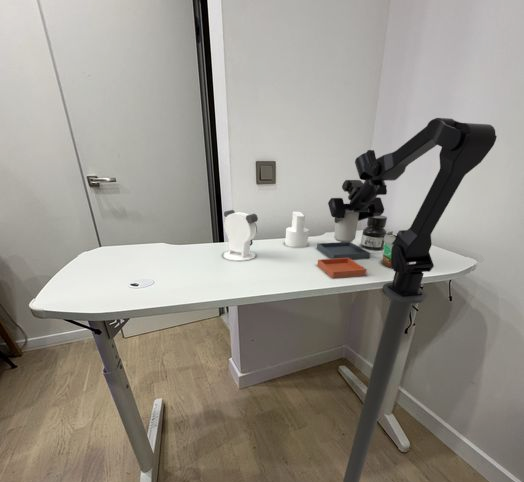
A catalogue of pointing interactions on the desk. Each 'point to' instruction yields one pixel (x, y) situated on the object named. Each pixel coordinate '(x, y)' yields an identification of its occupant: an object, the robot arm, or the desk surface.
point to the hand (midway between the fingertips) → (344, 221)
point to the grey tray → (342, 250)
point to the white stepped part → (297, 231)
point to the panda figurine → (240, 235)
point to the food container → (388, 248)
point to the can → (347, 227)
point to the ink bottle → (374, 233)
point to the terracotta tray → (341, 267)
